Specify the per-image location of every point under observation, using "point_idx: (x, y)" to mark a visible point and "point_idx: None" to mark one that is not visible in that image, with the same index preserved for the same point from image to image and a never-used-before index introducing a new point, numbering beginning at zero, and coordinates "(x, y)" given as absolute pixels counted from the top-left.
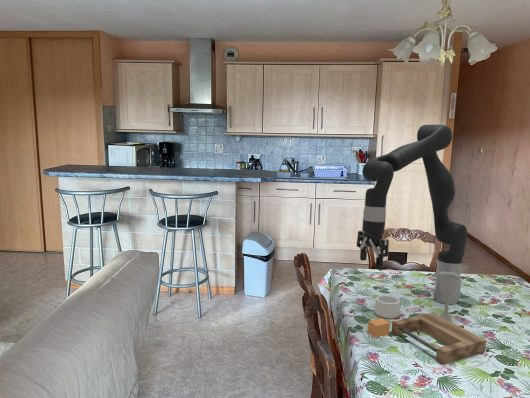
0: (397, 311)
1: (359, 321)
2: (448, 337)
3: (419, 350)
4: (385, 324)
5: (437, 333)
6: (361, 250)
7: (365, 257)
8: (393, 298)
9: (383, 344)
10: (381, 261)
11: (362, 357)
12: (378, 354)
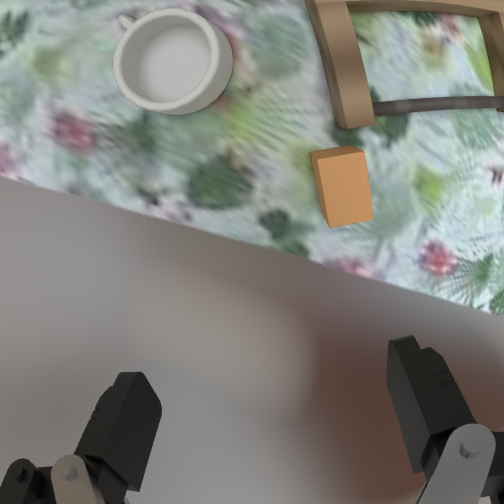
0: (223, 38)
1: (234, 201)
2: (455, 7)
3: (454, 113)
4: (366, 173)
5: (414, 6)
6: (124, 487)
7: (136, 398)
8: (146, 24)
9: (401, 199)
10: (455, 402)
11: (431, 286)
12: (436, 242)
